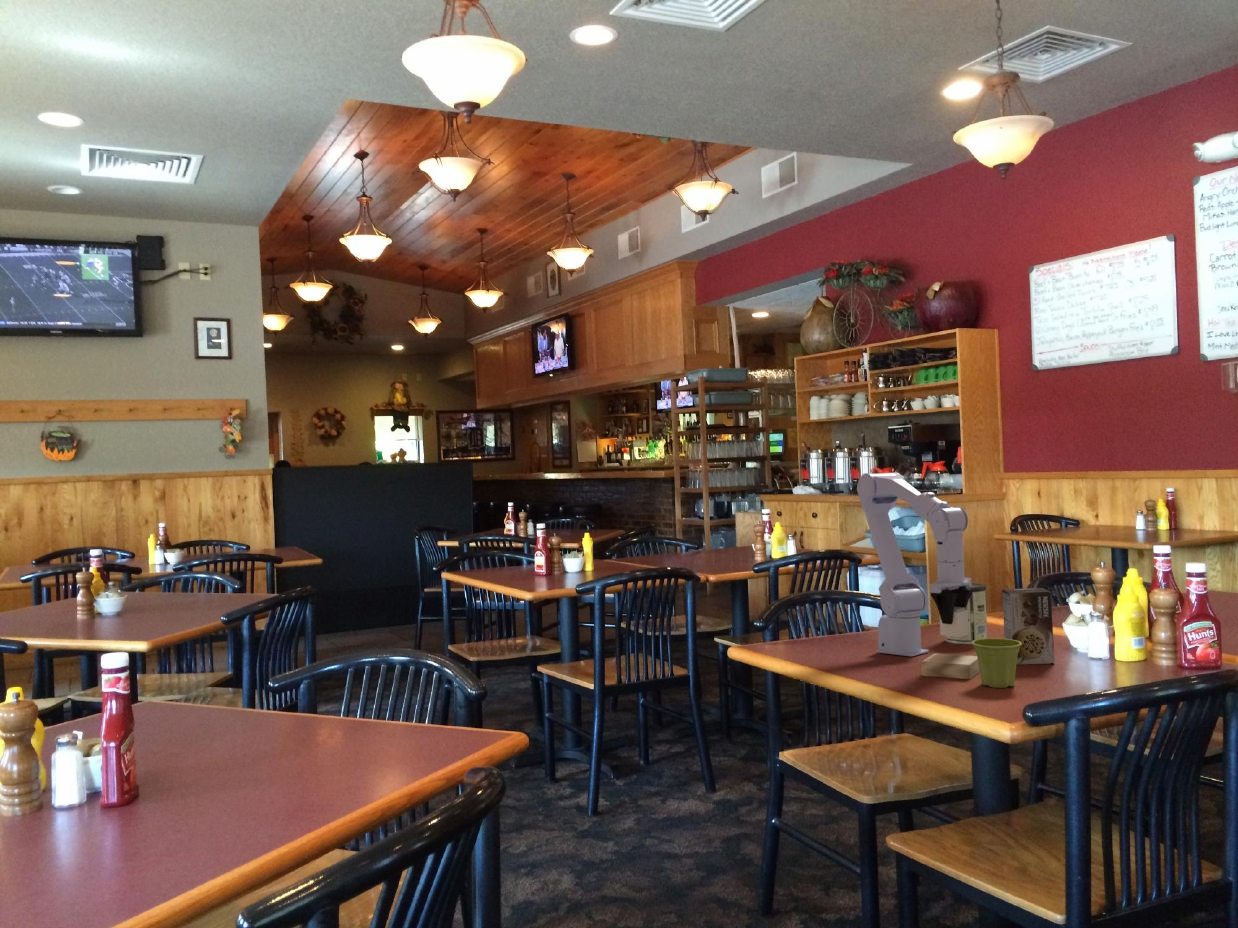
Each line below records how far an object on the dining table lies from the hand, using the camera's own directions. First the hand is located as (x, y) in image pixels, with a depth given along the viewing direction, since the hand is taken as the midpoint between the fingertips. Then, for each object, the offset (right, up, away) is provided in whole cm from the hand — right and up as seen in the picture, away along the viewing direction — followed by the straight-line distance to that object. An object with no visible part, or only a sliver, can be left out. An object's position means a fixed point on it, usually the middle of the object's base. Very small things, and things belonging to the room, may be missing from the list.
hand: (953, 622), depth 222 cm
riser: (-3, -10, -9) cm, 13 cm away
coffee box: (+17, -9, 0) cm, 19 cm away
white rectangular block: (0, -3, 0) cm, 3 cm away
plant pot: (+2, -10, -22) cm, 24 cm away
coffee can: (+13, -10, +29) cm, 33 cm away
